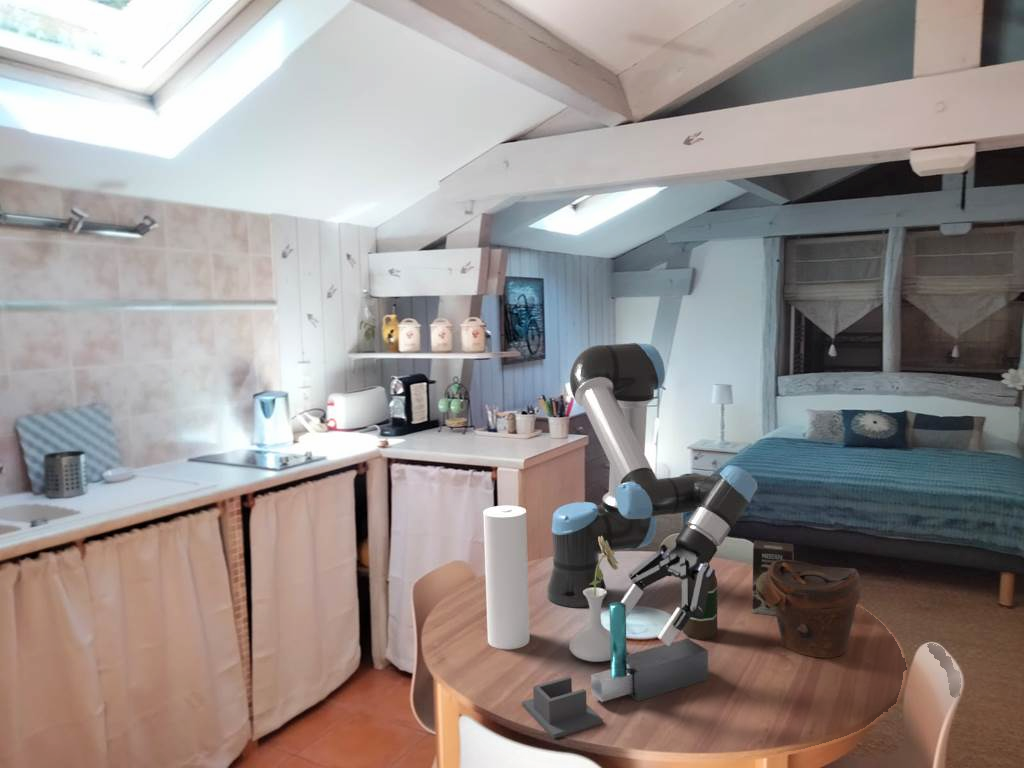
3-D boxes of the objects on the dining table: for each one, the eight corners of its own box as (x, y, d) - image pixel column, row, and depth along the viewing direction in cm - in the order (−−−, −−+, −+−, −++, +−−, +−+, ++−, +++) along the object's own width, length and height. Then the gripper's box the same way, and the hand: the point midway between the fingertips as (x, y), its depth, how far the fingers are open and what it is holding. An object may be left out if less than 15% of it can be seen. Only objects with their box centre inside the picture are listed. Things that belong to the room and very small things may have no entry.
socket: (522, 705, 135) (521, 680, 135) (568, 692, 139) (568, 667, 139) (553, 739, 124) (552, 711, 124) (602, 723, 129) (602, 696, 128)
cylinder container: (536, 634, 165) (532, 505, 162) (519, 652, 156) (515, 516, 153) (499, 627, 169) (494, 501, 166) (480, 645, 160) (475, 512, 157)
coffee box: (751, 613, 173) (751, 547, 171) (753, 603, 178) (753, 539, 177) (792, 618, 169) (793, 551, 167) (793, 607, 175) (793, 542, 173)
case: (751, 626, 165) (752, 550, 163) (840, 625, 165) (842, 549, 163) (777, 665, 148) (779, 581, 146) (877, 664, 147) (880, 580, 145)
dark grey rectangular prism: (619, 687, 141) (618, 657, 140) (688, 666, 148) (687, 638, 147) (637, 701, 135) (636, 670, 135) (707, 679, 143) (707, 650, 142)
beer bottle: (718, 641, 158) (718, 534, 156) (682, 639, 160) (681, 533, 158) (716, 626, 166) (715, 524, 164) (681, 624, 168) (680, 523, 165)
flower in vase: (609, 672, 147) (607, 552, 144) (559, 659, 153) (557, 544, 150) (634, 646, 158) (632, 534, 155) (587, 635, 164) (585, 527, 161)
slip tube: (591, 693, 137) (589, 607, 135) (676, 667, 145) (676, 586, 143) (601, 702, 133) (600, 614, 132) (688, 675, 142) (687, 592, 140)
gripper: (759, 566, 132) (696, 665, 127) (672, 531, 154) (615, 614, 149) (737, 542, 129) (671, 643, 124) (651, 511, 151) (592, 595, 146)
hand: (640, 628), depth 136 cm, fingers open, 13 cm apart
